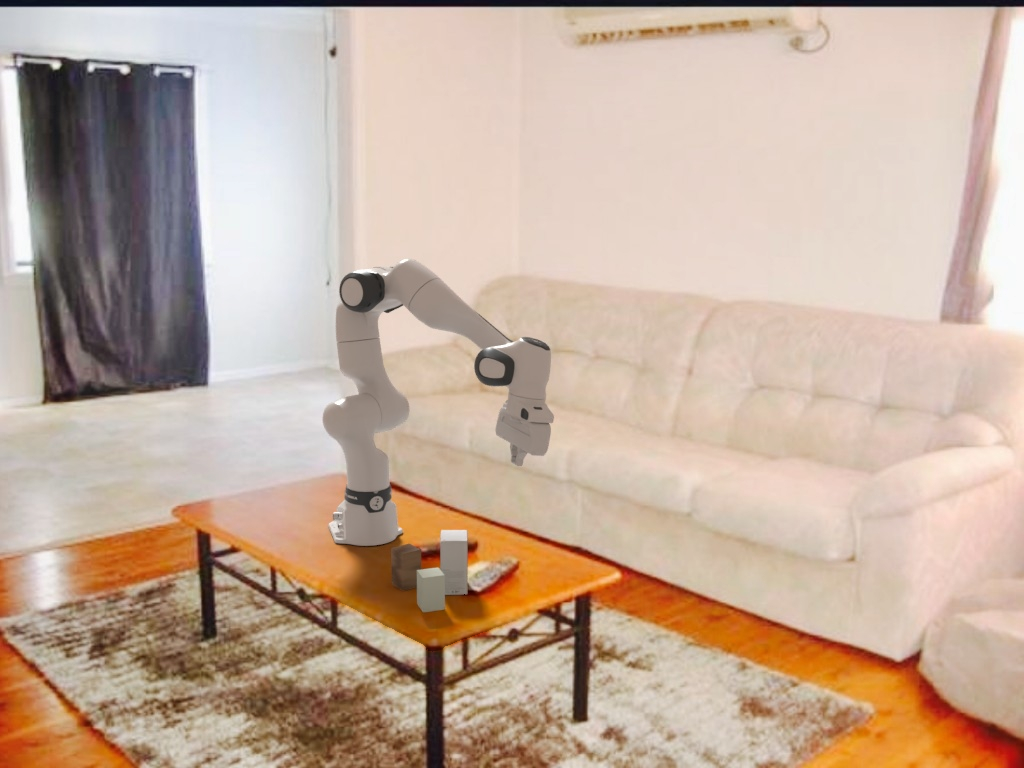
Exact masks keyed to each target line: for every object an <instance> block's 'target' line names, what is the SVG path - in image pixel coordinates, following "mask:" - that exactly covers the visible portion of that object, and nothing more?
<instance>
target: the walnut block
mask: <svg viewBox="0 0 1024 768" xmlns="http://www.w3.org/2000/svg"><path fill="white" fill-rule="evenodd" d="M390 552H391V556H390V557H391V560H390V561H391V564H390V565H391V585H392V586H393V587H396V588H397V589H398V590H401V591H402V592H404V591H408V590H412V589H415V588H416V589H417V570H421V569H422V549H421V548H419V547H418V546H415V545H413V544H412V543H406V544H402V545H397V546H393V547H391V548H390Z"/></svg>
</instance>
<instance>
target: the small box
mask: <svg viewBox="0 0 1024 768" xmlns="http://www.w3.org/2000/svg"><path fill="white" fill-rule="evenodd" d="M468 536H469V535H468V529H441V530H440V536H439V538H440V540H439V541H440V543H439V544H440V547H439V548H440V549H439V550H440V552H439V553H440V554H439V555H440V557H439V558H440V562H439V564H440V565H439V567H440V568H439V569H440V570H441V571H442V572H443V574H444V575H445V596H456V595H457V596H459V595H460V596H461V595H464V594H465V595H468V594H469V593H468V590H469V587H468V585H469V584H468V581H469V580H468V577H469V575H468V571H469V570H468V567H469V566H468V559H469V555H468V554H469V553H468V552H469V551H468V547H469V544H468V543H469V541H468V540H469V539H468Z"/></svg>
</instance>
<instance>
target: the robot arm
mask: <svg viewBox="0 0 1024 768" xmlns="http://www.w3.org/2000/svg"><path fill="white" fill-rule="evenodd" d="M338 292H339V297H340V300H341V301H340V302H339V303H338V304H337V306H336V309H335V310H336V311H335V312H336V313H335V338H336V347H337V355H338V364H339V370H340V372H341V374H342V375H343V376H344V377H346V378H348V379H350V380H352V381H353V382H354V384H355V386H356V388H357V392H358V394H352V395H348V396H343V397H340V398H339V399H336V400H334V401H332V402H330V403H328V404H327V405H326V407H325V408H324V410H323V413H322V425H323V428H324V430H325V432H326V433H327V435H328V436H330V437H331V438H332V439H333V440H335V441H336V442H337V443H338V445H339V446H340V447H341V449H342V452H343V455H344V459H345V468H346V485H345V490H344V499H343V501H341V503H339V505H338V506H336V511H333V512H332V521H331V522H328V529H329V533H330V534H331V536H332V539H333V541H334V543H335V544H344V545H345V544H347V545H353V546H361V547H364V546H365V547H368V546H369V547H370V546H377V545H378V546H379V545H383V544H384V545H385V544H388V543H390V542H393V541H394V540H396V538H397V537H398V536H399V535H402V534H403V533H404V530H403V528H402V527H400V526H399V523H398V522H399V521H398V511H397V510H398V509H397V504H396V503H395V502H394V501H392V493H393V491H392V485H391V484H390V458H389V456H388V454H387V453H386V452H384V451H383V449H380V448H378V447H377V446H376V443H375V442H376V441H375V437H374V436H375V435H376V434H380V433H383V432H384V433H385V432H389V431H392V430H394V429H396V428H397V427H398V428H399V427H400V426H401V425H403V424H405V422H407V420H408V418H409V415H410V404H409V401H408V399H407V397H406V395H405V394H404V393H403V392H402V391H400V390H398V389H397V388H396V386H395V385H394V384H393V383H392V381H391V380H390V377H389V376H388V374H387V371H386V368H385V365H384V359H383V353H382V345H381V338H380V332H379V331H380V330H379V319H380V316H381V315H382V314H383V313H386V314H389V313H391V312H392V311H395V310H397V309H399V308H401V307H405V308H406V309H407V311H409V312H410V313H411V315H413V317H414V318H415V319H417V320H418V321H419V322H421V323H422V324H424V325H426V326H427V327H428V328H430V329H434V330H439V331H445V332H450V333H454V334H457V335H461V336H463V337H465V338H467V339H468V340H469V341H471V342H472V343H473V344H475V345H476V346H477V347H478V348H479V349H481V350H480V351H479V352H478V353H477V355H476V357H475V359H474V367H473V369H474V372H475V376H476V378H477V379H478V381H479V382H480V383H481V384H483V385H484V386H488V387H492V388H497V387H506V388H507V389H508V395H507V400H506V401H505V402H504V403H503V404H502V407H501V408H500V410H499V411H498V416H497V420H496V423H495V430H494V431H495V434H496V436H497V437H499V438H501V439H503V441H506V442H507V443H510V445H509V449H510V463H511V464H513V465H515V466H517V467H522V466H523V464H524V460H525V458H526V456H527V454H529V455H531V456H535V457H536V456H537V457H538V456H539V457H540V456H541V457H544V456H545V455H546V454H547V452H548V449H549V445H550V440H551V434H552V428H551V424H553V423H554V420H555V415H554V413H553V412H552V411H551V409H550V408H549V406H548V404H547V403H546V400H547V393H546V392H547V391H546V388H547V385H548V383H549V380H550V374H551V366H552V365H551V364H552V351H551V347H550V346H549V345H548V344H547V343H546V342H544V341H542V340H540V339H537V338H533V337H529V336H523V337H520V338H518V339H517V340H515V341H514V340H511V339H510V338H508V337H507V336H506V335H504V334H503V333H502V332H501V331H500V330H499V329H498V328H497V327H495V326H494V325H493V324H492V323H490V322H489V320H487V319H486V318H485V317H483V316H482V315H481V314H480V313H478V312H477V311H476V310H474V308H472V307H471V306H470V305H469V304H468V303H467V302H466V301H464V300H463V298H461V297H460V296H459V295H457V293H456V292H455V291H454V290H453V289H451V287H450V286H449V285H448V284H446V283H445V281H444V280H442V279H441V278H440V277H439V275H437V274H436V273H435V272H433V271H432V270H431V269H430V268H428V267H427V266H425V265H424V264H423V263H421V262H419V261H417V260H416V259H412V258H405V259H402V260H400V261H399V262H397V263H396V264H394V266H389V267H388V266H375V267H370V268H365V269H356V270H353V271H351V272H349V273H347V274H346V275H344V277H343V278H342V279H341V281H340V285H339V291H338Z"/></svg>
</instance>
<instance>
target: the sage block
mask: <svg viewBox="0 0 1024 768" xmlns="http://www.w3.org/2000/svg"><path fill="white" fill-rule="evenodd" d="M416 605H418V608H419V609H420V610H421V611H422V613H429V612H430V613H431V612H434V611H442V610H446V595H445V575H444V574H443V572H442V571H441V570H440V568H439V567H438V566H437V567H431V568H430V567H429V568H424V569H422V568H421V570H417V587H416Z"/></svg>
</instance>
